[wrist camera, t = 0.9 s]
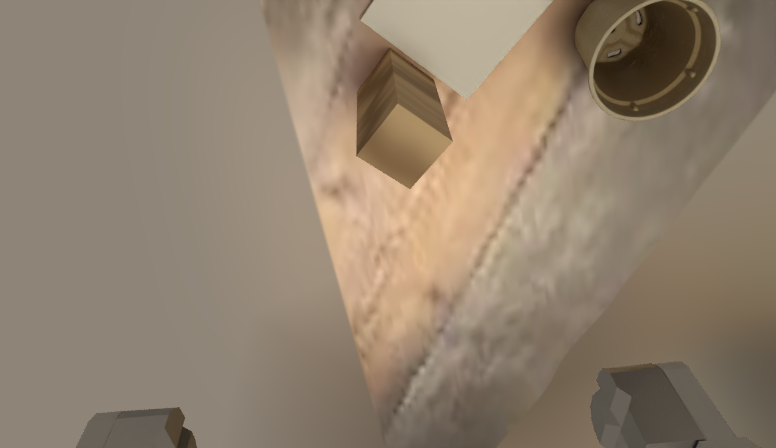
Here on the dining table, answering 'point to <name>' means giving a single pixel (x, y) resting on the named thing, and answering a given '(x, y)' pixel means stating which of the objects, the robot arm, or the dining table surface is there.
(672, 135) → the dining table surface
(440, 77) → the white board
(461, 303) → the dining table surface
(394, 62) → the oak block
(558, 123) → the dining table surface
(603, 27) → the flower pot
